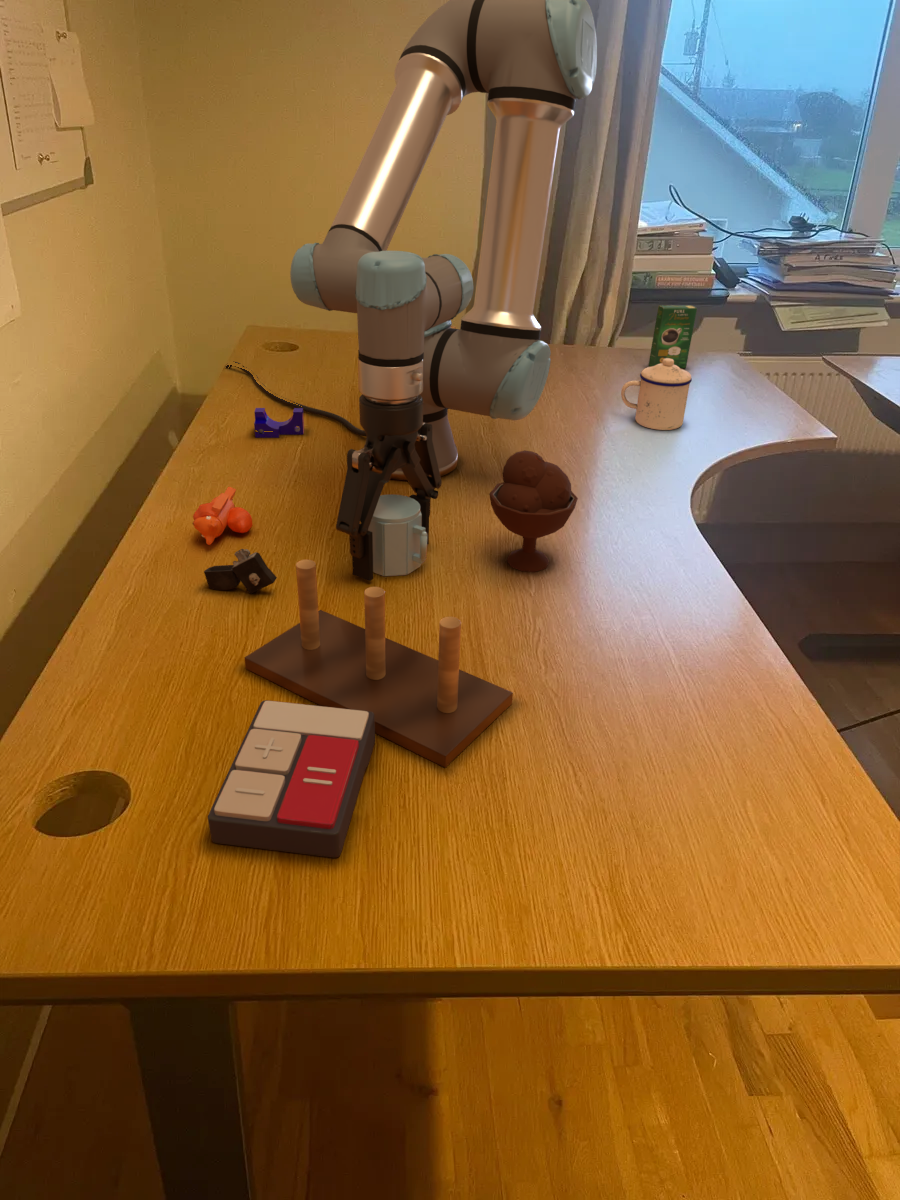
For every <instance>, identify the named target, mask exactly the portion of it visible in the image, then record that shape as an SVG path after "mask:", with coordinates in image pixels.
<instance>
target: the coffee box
mask: <svg viewBox="0 0 900 1200" xmlns="http://www.w3.org/2000/svg"><path fill="white" fill-rule="evenodd" d="M697 312H698V308H697V307H696V306H694V305H691V304H690V305H685V304H684V305H679V304H678V305H675V304H674V305H671V304H669V305H663V304H661V305H659V304H658V306H657V312H656V319H655V324H654V330H653V335H652V342H651V348H650V354H649V358H648V359H649V361H648V367H651V366H655V365H657V364H660V363H662V361H663V359H665V358H670V359H673V360H674V365H676V366H678V367H679V368H680V369H687V365H688V360H689V353H690V349H691V344H692V338H693V333H694V328H695V322H696V317H697Z"/></svg>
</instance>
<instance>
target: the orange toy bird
mask: <svg viewBox="0 0 900 1200" xmlns="http://www.w3.org/2000/svg"><path fill="white" fill-rule="evenodd" d="M236 491H237V489H236V488H234V487H231V486H228V487H227V488H226V489H225V491H224V493H223V492H221V493H220V494H219V495H218V496H215V497H214V498H212V500H211V502H207V503H202V504H200V505H198V508H196V510H195V512H194V513H193V514H192V518H193V522H192V525H193V527H194V529H196V530H197V531H198V532H199V534H201V537H202V538H203V539H204V540H205V543H206V544H207V545H208V546H211V545H212V544H213V543H214V541H215V539H216V538H218V537H220V536H221V535H223V533H224V531H225V529H226V528H227V527H228V528H229V529H230V530H231V531H233V532H235V533H239V534H246V533H248V532H249V531H250V530H251V529H252V527H253V518H252V515H251V514H250V512H248V510H246V509H245V508H243V507H240V506H235V503H234V502H233V498H234V497H235V495H236Z"/></svg>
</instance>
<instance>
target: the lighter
mask: <svg viewBox="0 0 900 1200" xmlns="http://www.w3.org/2000/svg"><path fill="white" fill-rule="evenodd" d="M234 556H235V557H236V559H237V560H233V561H232V564H226V565H225V564H223V565H213V566H209V567H208V568H206V569H205V570H204V571H203V574H204V576H205V580H206V583H207V586H208V588H209V589H212V590H215V591H228V590H233V589H235V588H238V586H239V585H240V583H241V584H242V586H243V587H244V588H245V589H246V590H247V591H248V593H249V594H250V595H252V594H253V593H255V592H257V591H258V592H259V591H260V590H261V589H264V588H266V587H268V586H270V585H273V584H274V583H275V581H276V580H277V579H278V577H277V576H276V574H275V573H274V572H273V571H272V570H271V569H270V568H269V566H268V565H267V564H266V562H265V560H264V559H263V557H262V556H261V554H260V553H259V552H257V551H255V552H253V553H251V551H250V549H247V548H245V549H244V548H241V549H238V550H237V551H236V552H234Z"/></svg>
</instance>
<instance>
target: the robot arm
mask: <svg viewBox="0 0 900 1200" xmlns="http://www.w3.org/2000/svg"><path fill="white" fill-rule="evenodd" d="M597 58H598V43H597V32H596V24H595V19H594V15H593V11H592V8H591V5H590V4H589V2H588V0H447V1H446V2H445V3H444V4H442V5H440V6H439V7H438V8H436V10H435V11H434V12H433V13H432V14H430V15H429V16H428V17H427V18H426V19H425V21H424V22H423V23H422V24H420V26H419V27H418V28H417V29H416V31H415V32H414V33H413V35H412V36H411V38H410V39H409V41H408V42H407V43H406V45H405V46H404V48H403V50H402V52H401V54H400V57H399V59H398V61H397V63H396V65H395V68H394V74H393V76H394V82H395V86H394V89H393V91H392V93H391V95H390V97H389V99H388V102H387V104H386V106H385V108H384V111H383V113H382V115H381V117H380V119H379V121H378V124H377V126H376V128H375V130H374V132H373V134H372V137H371V139H370V141H369V143H368V145H367V147H366V149H365V152H364V154H363V156H362V159H361V160H360V163H359V165H358V166H357V169H356V171H355V173H354V175H353V177H352V179H351V182H350V184H349V186H348V188H347V191H346V193H345V195H344V197H343V199H342V201H341V204H340V206H339V208H338V210H337V213H336V214H335V217H334V218H333V221H332V223H331V225H330V228H329V229H328V231H327V234H326V236H325V238H324V239H323V241H322V243H320V242H314V243H305V244H303V245H302V246H301V247H300V248H297V250H296V251H295V253H294V255H293V257H292V259H291V264H290V271H289V274H290V276H289V277H290V285H291V288H292V291H293V293H294V294H295V296H296V298H297V299H298V301H300V302H301V303H302V304H304V305H306V306H311V307H314V308H318V309H321V310H326V311H328V312H331V311H332V312H333V311H335V312H343V313H351V314H356V316H357V317H356V318H357V337H358V341H357V342H358V357H357V380H358V383H357V385H358V387H357V389H358V391H359V393H360V396H359V397H358V406H359V407H358V408H359V413H358V414H359V425H360V427H361V428H362V429H363V430H362V429H360V428H358V427H356V426H355V425H354V424H352V422H350V421H348V420H347V419H346V418H344V417H342V416H340V415H338V414H336V413H334V412H330V411H326V410H322V409H318V408H316V407H315V408H314V407H311V406H307V405H304V404H301V403H299V404H298V402H296V404H298V405H296V404H293V403H290V402H287V401H285V400H283V399H280V398H278V397H276V396H274V395H273V394H271V393H269V392H268V391H266V390H265V389H264V388H263V387H262V386H261V385H259V384H258V383H257V382H256V380H255V379H254V377H253V375H252V374H251V373H250V372H249V371H247V370H245V369H242V368H239V367H236V366H234V367H235V368H238V369H240V371H242V372H244V373H245V374H247V375H249V376H250V377H251V379H252V380H253V382H254V383H255V385H256V386H257V387H258V388H260V389H261V391H262V392H264V394H266V395H267V396H269V397H270V398H272V399H274V400H275V401H277V402H280V403H282V404H284V405H286V406H289V407H292V408H293V409H294V408H303V412H305V413H309V414H313V415H318V416H322V417H325V418H329V419H331V420H334V421H337V422H338V423H340V424H342V425H344V426H345V427H346V428H347V429H348V430H349V431H351V432H352V433H354V434H355V435H358V436H360V437H365V442H364V445H363V448H361V449H359V450H356V449H352V448H350V449H348V451H347V453H346V467H347V468H346V475H345V479H344V484H343V489H342V495H341V498H340V499H341V500H340V504H339V509H338V515H337V518H336V519H337V520H336V524H335V529H336V531H338V532H341V533H343V534H347V535H348V538H349V553H350V556H351V562H352V563H351V564H352V565H351V566H352V576H355V577H358V578H360V579H362V580H365V581H368V582H371V581H372V580H373V579H374V572H373V532H370V531H368V528H369V526H370V523H371V520H372V517H373V514H374V512H375V509H376V506H377V503H378V500H379V498H380V495H382V492H383V489H384V486H385V485H386V484H387V483H388V482H389V481H390V480H391V479H392V480H397V481H407V482H408V484H409V485H410V487H411V489H412V492H413V493H415V494H411V495H409V496H408V497H410V498H413V499H415V500H416V501H417V502H418V503H419V504H420V511H421V514H422V527H424V528H426V531H425V532H427V546H428V545H429V544H430V516H431V499H432V500H437V499H438V498H439V491H438V490H436V489H440V488H441V487H442V484H443V482H442V477H443V476H446V475H448V474H450V473H451V472H453V471H454V470H455V469H456V468H457V466H458V459H459V454H458V448H457V444H456V443H455V440H454V439H455V438H454V435H453V430H452V427H451V424H450V420H449V414H448V413H449V410H453V411H458V412H464V413H470V414H475V415H480V416H486V417H489V418H491V419H492V420H497V419H501V420H507V421H520V420H523V419H524V418H526V417H528V416H529V415H530V414H531V412H532V411H533V410H534V409H535V407H536V406H537V404H538V402H539V400H540V398H541V397H542V394H543V391H544V389H545V386H546V384H547V380H548V377H549V376H548V375H549V373H550V368H551V354H552V353H551V347H550V346H549V344H548V343H547V342H545V341H544V340H541V333H542V326H541V325H540V323H539V322H538V321H537V319H536V317H535V315H534V309H535V302H536V295H537V288H538V283H539V275H540V267H541V261H542V256H543V255H542V254H543V246H544V240H545V234H546V226H547V219H548V215H549V214H548V213H549V205H550V199H551V193H552V185H553V179H554V173H555V172H554V171H555V165H556V159H557V151H558V144H559V137H560V133H561V132H560V130H561V129H562V127H563V126H564V125H565V124H566V123H567V122H568V121H570V120H571V119H572V118H573V117H574V115H575V106H576V101H577V99H578V100H583V99H585V98H587V97H588V96H589V95H590V94H591V92H592V90H593V85H594V83H595V80H596V74H597V62H598V61H597V60H598V59H597ZM473 93H474V94H475V93H481V94H487V95H488V96H487V102H486V106H487V107H488V109H489V111H491V113H492V115H493V116H494V118H495V120H496V121H495V122H496V123H495V129H494V138H493V147H492V154H491V164H490V171H489V178H488V179H489V180H488V185H487V186H488V187H487V195H486V203H485V211H484V219H483V226H482V236H481V243H480V252H479V259H478V267H477V276H476V284H475V286H474V280H473V275H472V273H471V271H470V268H469V267H468V265H467V264H466V263H465V262H464V261H463V260H462V259H461V258H459V257H458V256H456V255H453V254H450V253H440V254H438V253H434V254H432V255H429V256H427V257H422V256H420V255H419V254H417V253H414V252H410V251H402V250H388V248H389V246H390V244H391V242H392V239H393V238H394V235H395V233H396V230H397V228H398V226H399V223H400V221H401V219H402V217H403V216H404V215H403V214H404V212H405V210H406V208H407V206H408V203H409V201H410V199H411V197H412V195H413V192H414V190H415V188H416V186H417V183H418V181H419V179H420V177H421V174H422V172H423V170H424V168H425V165H426V163H427V161H428V158H429V157H430V154H431V152H432V150H433V147H434V145H435V142H436V140H437V138H438V136H439V134H440V131H441V129H442V127H443V124H444V122H445V120H446V118H447V116H450V115H451V114H453V113H456V111H457V110H458V109H459V107H460V105H461V104H462V101H463V99H464V97H466V96H468V95H470V94H473ZM474 287H475V289H474ZM474 290H475V292H474ZM473 295H474V298H473ZM472 298H473V299H474V300H473V306H472V307H471V308H470V309H469V310H468V311H467V312H466V313H464V315H462V317H461V319H460V327H459V328H460V329H458V328H456V329H454V328H451V325H452V320H454V318H456V317H457V316H458V315H459V314H460V313H462V312H464V310H466V308H468V306H469V305H470V304H471V301H472ZM452 326H453V325H452ZM234 362H235V363H238V364H241V363H240V362H238V361H234ZM226 365H227V364H226ZM226 365H225V367H226V368H225V369H227V368H228V367H229V365H227V366H226ZM232 367H233V366H232V365H230V368H229V369H231V368H232ZM257 378H258V379H259V377H258V376H257ZM293 402H294V403H295V401H293ZM299 405H300V406H299ZM301 406H302V407H301Z"/></svg>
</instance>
